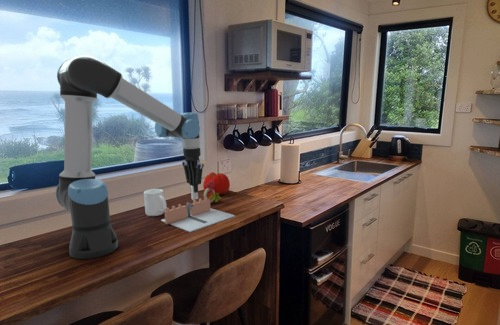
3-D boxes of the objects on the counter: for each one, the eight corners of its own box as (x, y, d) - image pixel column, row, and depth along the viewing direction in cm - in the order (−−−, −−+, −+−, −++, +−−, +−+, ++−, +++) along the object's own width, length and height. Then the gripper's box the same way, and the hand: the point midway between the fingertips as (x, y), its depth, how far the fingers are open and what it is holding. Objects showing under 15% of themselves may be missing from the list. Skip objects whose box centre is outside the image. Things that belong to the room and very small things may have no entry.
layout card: (187, 232, 131) (187, 231, 131) (158, 221, 145) (158, 220, 145) (235, 216, 149) (235, 215, 149) (205, 207, 163) (205, 206, 163)
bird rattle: (214, 209, 167) (223, 197, 174) (207, 190, 162) (217, 179, 168) (204, 207, 171) (213, 196, 177) (197, 189, 165) (207, 178, 172)
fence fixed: (167, 225, 140) (166, 208, 139) (165, 224, 141) (164, 208, 140) (191, 217, 149) (190, 202, 148) (189, 217, 150) (188, 201, 149)
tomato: (234, 194, 184) (233, 173, 182) (210, 199, 177) (209, 176, 175) (222, 189, 195) (222, 169, 193) (199, 193, 188) (198, 172, 186)
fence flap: (192, 216, 149) (191, 202, 148) (189, 215, 150) (189, 201, 149) (210, 210, 156) (210, 196, 155) (208, 209, 157) (207, 196, 156)
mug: (173, 214, 154) (172, 191, 153) (158, 219, 148) (156, 195, 146) (156, 209, 162) (155, 188, 160) (141, 214, 155) (139, 191, 154)
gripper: (207, 147, 153) (210, 199, 157) (189, 145, 162) (192, 194, 166) (193, 149, 148) (197, 203, 152) (176, 147, 157) (179, 198, 161)
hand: (194, 198), depth 159 cm, fingers closed
